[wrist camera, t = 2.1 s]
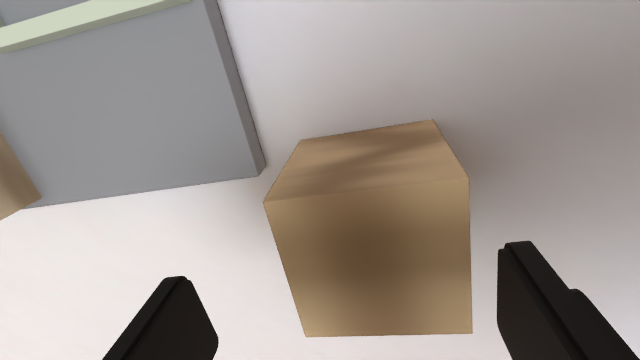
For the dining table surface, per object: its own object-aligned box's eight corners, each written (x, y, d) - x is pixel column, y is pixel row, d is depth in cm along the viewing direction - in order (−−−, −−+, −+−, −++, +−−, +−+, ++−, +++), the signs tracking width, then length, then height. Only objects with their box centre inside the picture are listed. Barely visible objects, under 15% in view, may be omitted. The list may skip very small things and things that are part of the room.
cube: (432, 119, 14) (468, 177, 9) (440, 233, 17) (472, 333, 11) (300, 139, 15) (262, 202, 10) (325, 242, 18) (305, 337, 13)
